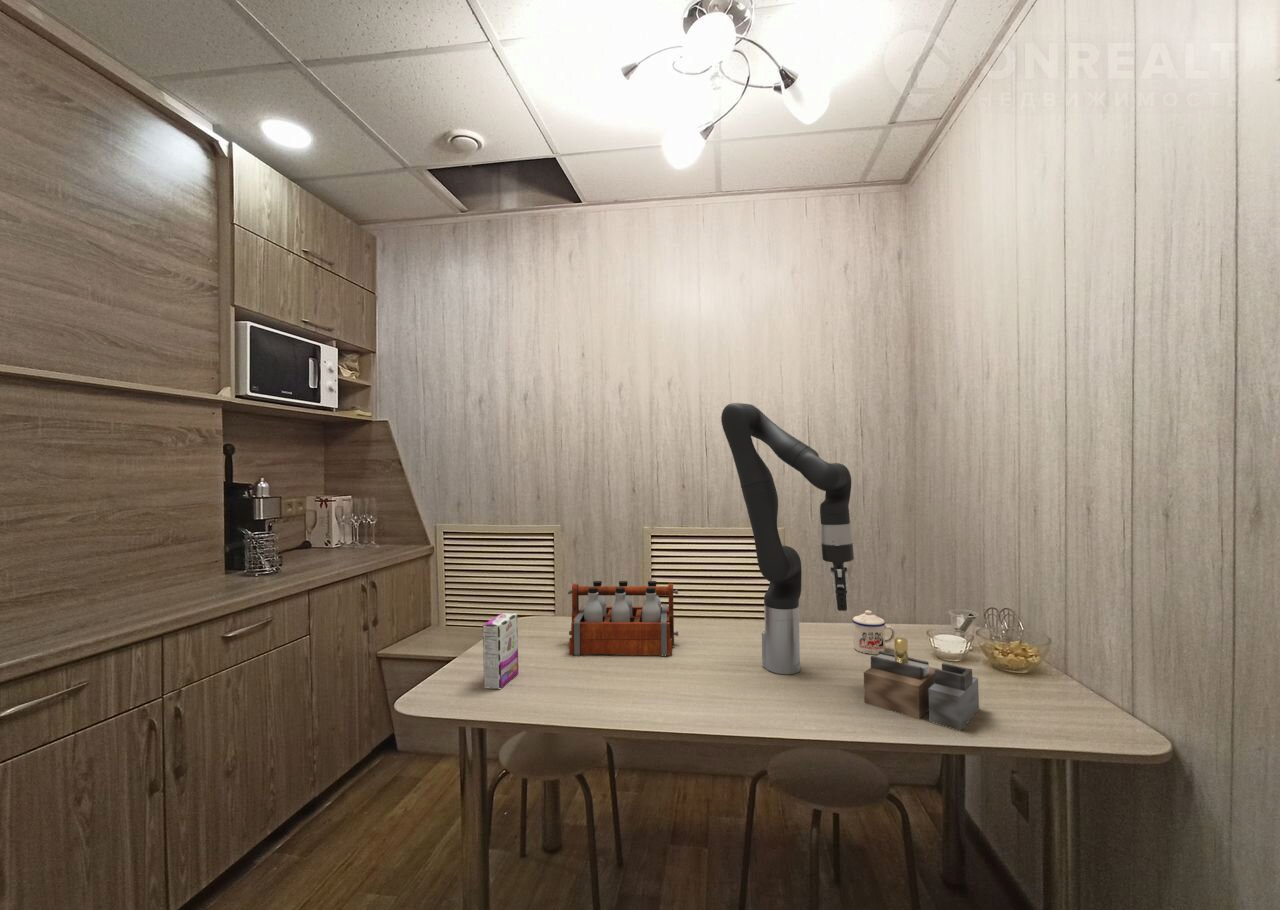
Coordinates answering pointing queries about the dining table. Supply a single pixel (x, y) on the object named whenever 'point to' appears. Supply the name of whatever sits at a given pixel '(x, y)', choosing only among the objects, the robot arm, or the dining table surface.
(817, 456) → the robot arm
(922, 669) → the gold and grey piece
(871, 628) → the teacup with lid
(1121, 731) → the dining table surface
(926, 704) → the pair of card holders
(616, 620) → the milk bottle holder
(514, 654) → the candy bar box
